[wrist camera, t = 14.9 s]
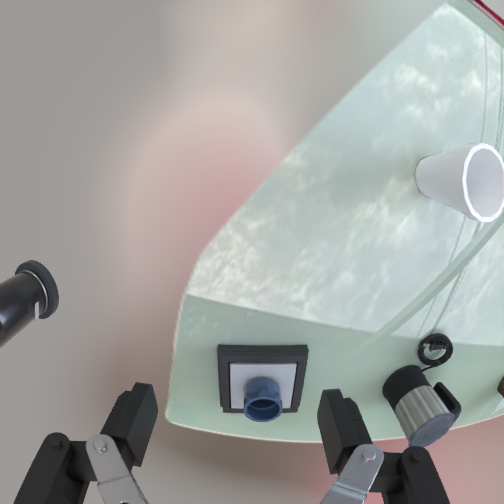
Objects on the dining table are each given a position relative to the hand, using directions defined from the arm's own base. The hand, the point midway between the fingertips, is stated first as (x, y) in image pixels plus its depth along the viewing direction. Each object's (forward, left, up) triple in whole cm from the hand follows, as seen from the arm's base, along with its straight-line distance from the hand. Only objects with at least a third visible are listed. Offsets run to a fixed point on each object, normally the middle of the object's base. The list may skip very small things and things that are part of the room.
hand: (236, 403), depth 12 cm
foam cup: (+28, +12, -28) cm, 42 cm away
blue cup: (+3, -22, -25) cm, 33 cm away
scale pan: (+3, -22, -26) cm, 34 cm away
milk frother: (+33, -23, -28) cm, 49 cm away
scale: (+3, -22, -28) cm, 36 cm away
